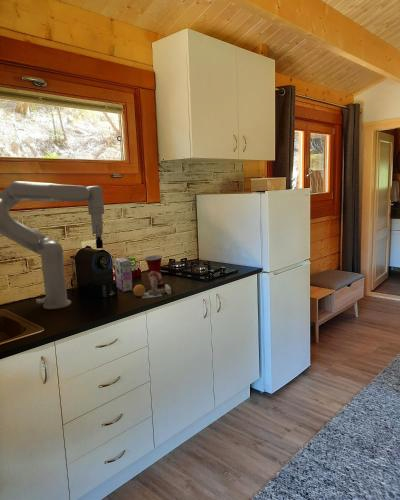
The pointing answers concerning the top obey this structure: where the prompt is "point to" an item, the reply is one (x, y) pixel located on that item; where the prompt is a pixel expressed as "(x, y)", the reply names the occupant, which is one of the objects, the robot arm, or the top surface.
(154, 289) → the back pin near
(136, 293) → the ball
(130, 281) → the candy box
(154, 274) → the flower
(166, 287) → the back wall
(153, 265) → the plastic cup
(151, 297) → the pin deck mark
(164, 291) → the front pin
